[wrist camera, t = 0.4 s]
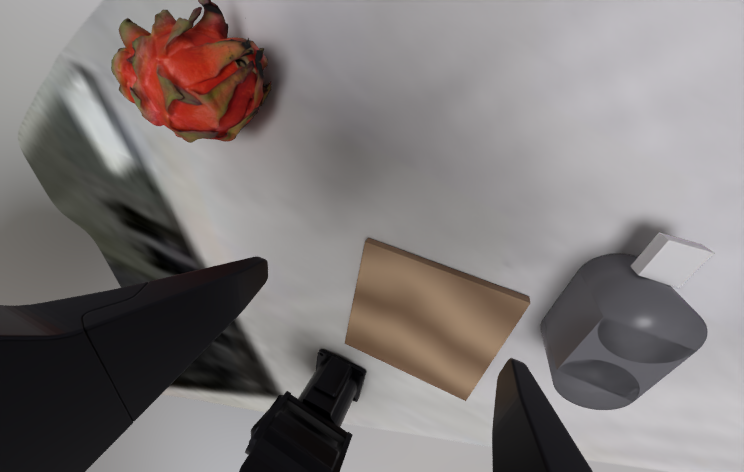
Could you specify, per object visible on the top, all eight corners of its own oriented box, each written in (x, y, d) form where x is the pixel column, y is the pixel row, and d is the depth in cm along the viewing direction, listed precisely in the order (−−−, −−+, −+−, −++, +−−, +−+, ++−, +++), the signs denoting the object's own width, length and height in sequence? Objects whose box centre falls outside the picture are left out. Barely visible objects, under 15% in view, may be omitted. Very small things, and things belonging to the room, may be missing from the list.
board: (466, 393, 28) (465, 400, 28) (347, 338, 32) (344, 343, 31) (529, 296, 21) (530, 303, 21) (368, 237, 25) (365, 241, 24)
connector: (587, 358, 22) (610, 419, 18) (530, 336, 23) (540, 388, 19) (703, 236, 16) (779, 284, 12) (619, 212, 17) (662, 249, 13)
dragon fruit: (199, 94, 27) (306, 61, 23) (188, 173, 25) (303, 150, 21) (89, 9, 19) (228, -60, 15) (61, 116, 17) (212, 65, 13)
